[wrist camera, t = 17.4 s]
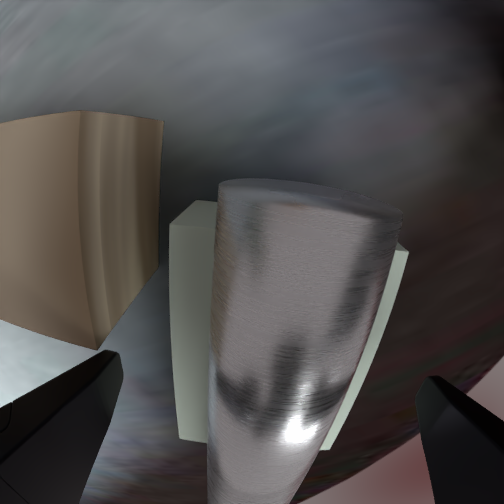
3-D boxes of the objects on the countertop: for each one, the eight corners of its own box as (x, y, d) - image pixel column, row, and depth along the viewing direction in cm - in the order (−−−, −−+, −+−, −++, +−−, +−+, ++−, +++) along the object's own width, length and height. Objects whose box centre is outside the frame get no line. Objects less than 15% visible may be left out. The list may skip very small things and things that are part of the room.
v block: (372, 221, 12) (408, 252, 8) (320, 399, 15) (329, 449, 12) (195, 199, 12) (169, 224, 8) (192, 388, 15) (179, 438, 12)
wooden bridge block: (164, 121, 10) (80, 110, 5) (158, 266, 13) (97, 350, 7) (-14, 137, 10) (-95, 152, 5) (-8, 241, 13) (-77, 283, 7)
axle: (230, 173, 8) (200, 200, 5) (368, 192, 8) (438, 233, 5) (212, 473, 14) (203, 530, 10) (281, 479, 14) (282, 536, 10)
